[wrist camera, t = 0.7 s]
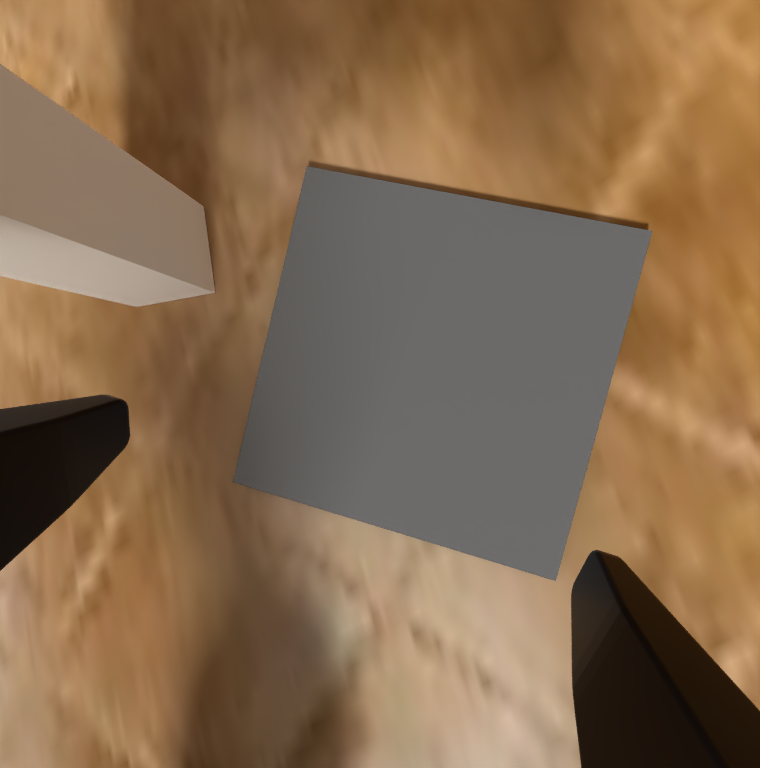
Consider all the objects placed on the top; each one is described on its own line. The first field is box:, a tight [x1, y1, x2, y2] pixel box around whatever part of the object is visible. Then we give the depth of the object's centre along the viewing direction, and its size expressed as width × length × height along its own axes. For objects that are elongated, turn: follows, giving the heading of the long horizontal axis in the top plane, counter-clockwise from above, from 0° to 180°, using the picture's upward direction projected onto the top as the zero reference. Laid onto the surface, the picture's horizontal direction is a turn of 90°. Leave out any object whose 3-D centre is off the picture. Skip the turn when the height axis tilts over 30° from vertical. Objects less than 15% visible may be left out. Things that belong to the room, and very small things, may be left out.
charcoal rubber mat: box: [233, 166, 652, 581], centre depth 21 cm, size 16×16×1 cm
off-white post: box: [0, 64, 215, 307], centre depth 17 cm, size 4×4×12 cm
